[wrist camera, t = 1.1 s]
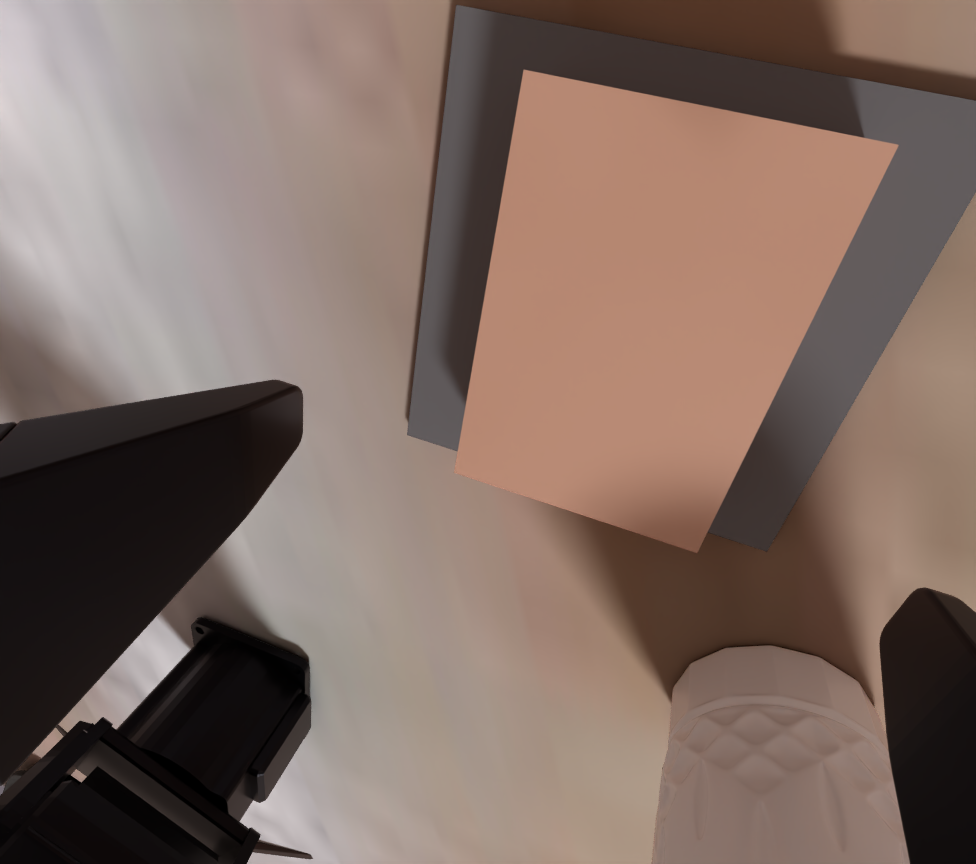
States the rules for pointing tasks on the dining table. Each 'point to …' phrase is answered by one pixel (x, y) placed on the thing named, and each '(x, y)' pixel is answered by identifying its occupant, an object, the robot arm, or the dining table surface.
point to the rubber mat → (724, 85)
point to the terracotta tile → (650, 297)
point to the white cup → (775, 766)
